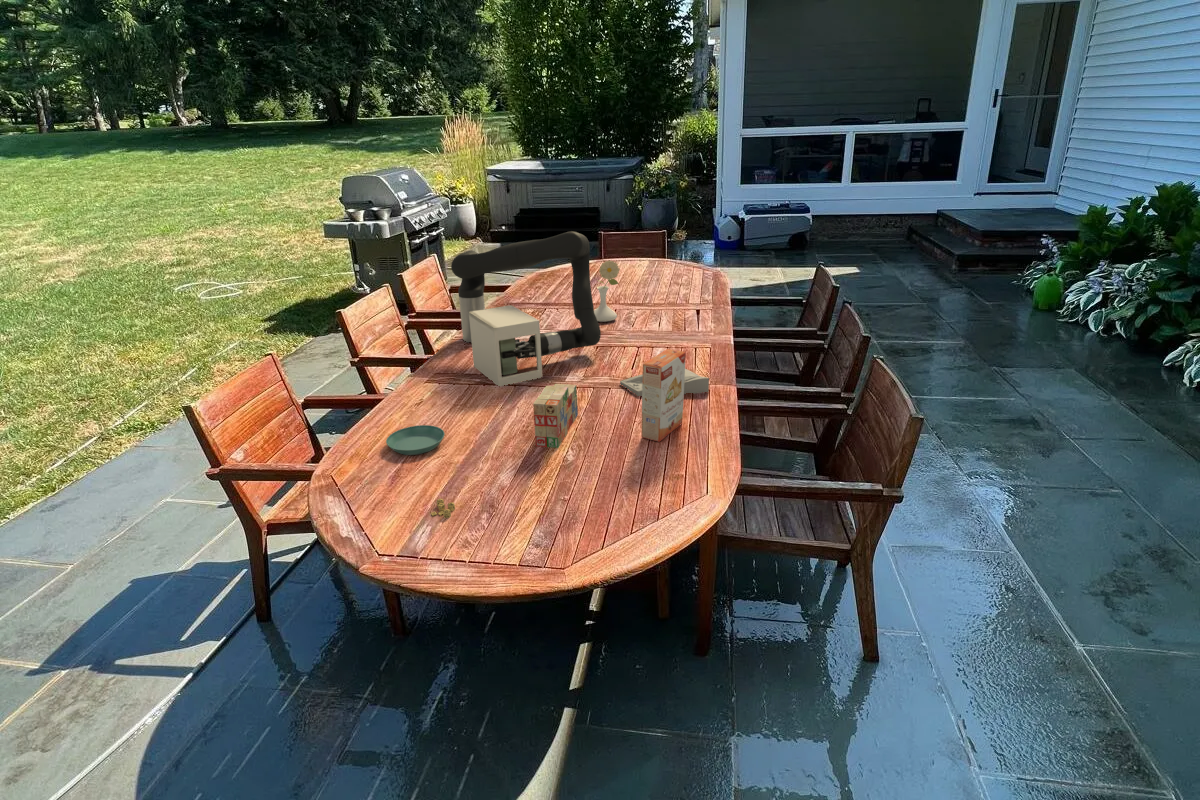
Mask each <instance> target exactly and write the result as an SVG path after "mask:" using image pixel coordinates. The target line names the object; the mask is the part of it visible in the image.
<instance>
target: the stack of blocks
mask: <svg viewBox="0 0 1200 800" xmlns="http://www.w3.org/2000/svg"><path fill="white" fill-rule="evenodd" d="M577 390H578V389H577V384H569V383H567V384H566V383H555V384H554V385H546V386H545V387H544V388H543V390H542V391H541V393H540V394H539V395H538V397H537V398H536V399H535V400H534V402H533V403H532V405H533V407H532V409H533V422H534V423H533V424H534V432H535V433H534V437H535V438H534V440H535V447H541V448H554V449H555V448H556V449H559V448H560V446H561V444H562V443H563V442H564V440H565V438H566V436H567V435H568V434H569V433H568V432H569V431H570V429H571V426H572V425H573V424H574V422H575V421H576V418H577V417H578V415H579V412H578V411H579V410H578V409H579V408H578V407H579V406H578V394H577V393H578V392H577Z"/></svg>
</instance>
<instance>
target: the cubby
mask: <svg viewBox="0 0 1200 800" xmlns="http://www.w3.org/2000/svg"><path fill="white" fill-rule="evenodd" d="M469 321H470V331H471V341H472V343H471V348H472V349H471V350H472V361H473V368H475V369H477V370H478V371H479V372H480V373H481V374H483V375H484V376H485V377H486V378H487V377H488V378H487V379H488V380H490V381H491V380H492V381H493V382H492V381H491V382H492V383H494V384H495V386H497V385H498V386H500V387H504V385H505V386H509V385H508V384H510V385H514V384H518V382H519V383H522V382H521V381H524V382H527V381H526V380H528V381H533V380H537V378H538V379H542V378H543V366H542V365H543V364H542V361H543V360H542V356H541V342H540V334H541V330H540V329H541V327H540V320H539V319H537V318H536V317H534V316H532V315H530V314H528V313H526V312H525V311H523V310H520V309H519V308H518V307H515V306H514V305H511V304H510V305H504V306H498V307H492V308H485V309H484V310H477V311H471V312H469ZM532 335H535V342H536V357H535V359H536V369H535V370H529V371H526V372H525V371H524V372H521V373H514V374H509V375H504V376H502V374H501V362H500V350H499V341H500V340H506V339H511V338H515V339H516V338H517V339H518V338H522V337H527V336H532ZM541 377H542V378H541ZM532 379H533V380H532ZM513 383H514V384H513Z"/></svg>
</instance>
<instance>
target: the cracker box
mask: <svg viewBox="0 0 1200 800" xmlns="http://www.w3.org/2000/svg"><path fill="white" fill-rule="evenodd" d="M686 354H687V353H686V352H685V351H682V350H675V349H670V348H667V349H665V350H663V351H662V352H660V353H658V354H657V355H655V356H653V357H651V358H650V359H648V360H647V361H645V362H643V363H642V374H643V380H642V397H641V432H640V433H641V434H640V435H641V438H642V439H646V440H650V441H653V442H654V441H655V442H658V443H660V442H661V441H663V440H664V439H665V438H666V437H667V436H669V435H670V434H671V433H672V432H673V431H674V430H676V429H677V428H678V427H680V426H681V425H682V424H683V419H684V417H683V415H684V413H683V412H684V401H685V400H684V399H685V398H684V395H685V394H684V379H685V369H686V359H687V358H686V356H687V355H686ZM680 424H681V425H680Z"/></svg>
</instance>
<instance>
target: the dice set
mask: <svg viewBox="0 0 1200 800" xmlns="http://www.w3.org/2000/svg"><path fill="white" fill-rule="evenodd" d="M445 505H446V504H445V502H444V499H443V498H438V499H437V500H436V506H437V508H438V511H439V512H436V511H433V512H430V515H431V516H432V517H435V516H438V515H439V516H443V518H444V519H448V518H451V516H452V514H451V512H453V511H455V510H456V504H455V502H449V503H447V508H446V506H445Z"/></svg>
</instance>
